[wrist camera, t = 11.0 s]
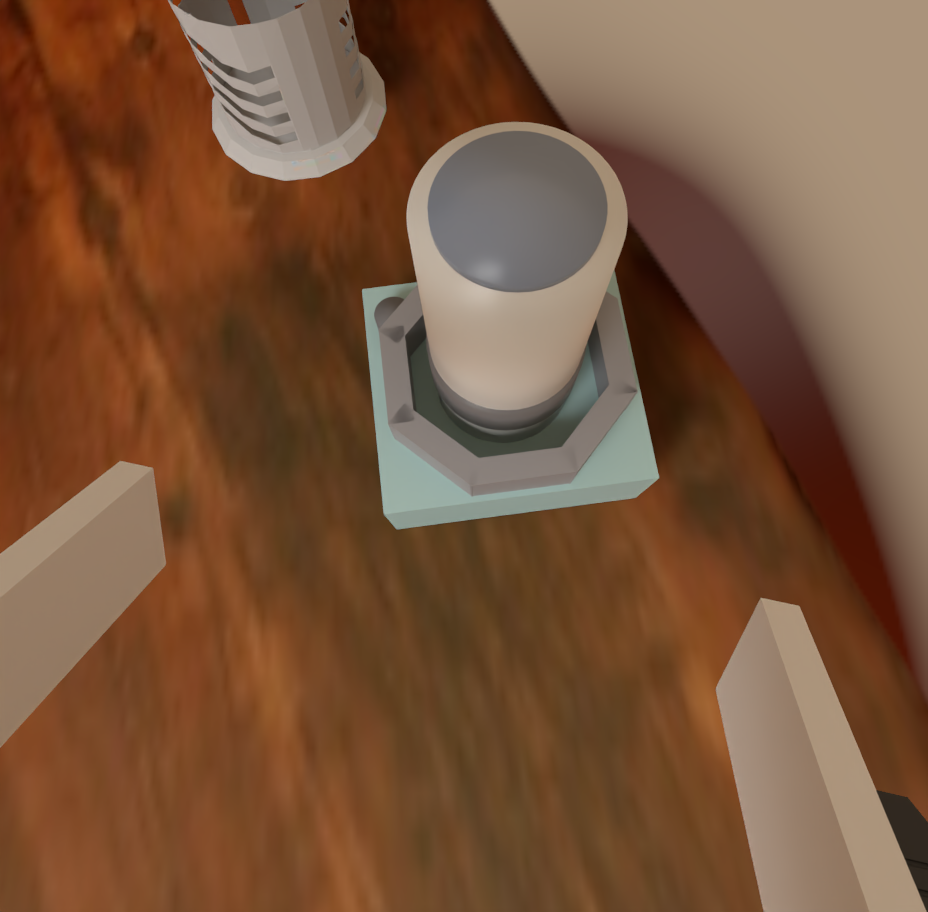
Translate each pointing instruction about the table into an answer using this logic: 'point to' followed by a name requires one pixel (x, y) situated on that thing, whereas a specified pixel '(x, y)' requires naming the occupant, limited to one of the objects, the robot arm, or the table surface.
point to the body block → (490, 463)
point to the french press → (286, 84)
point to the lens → (512, 270)
